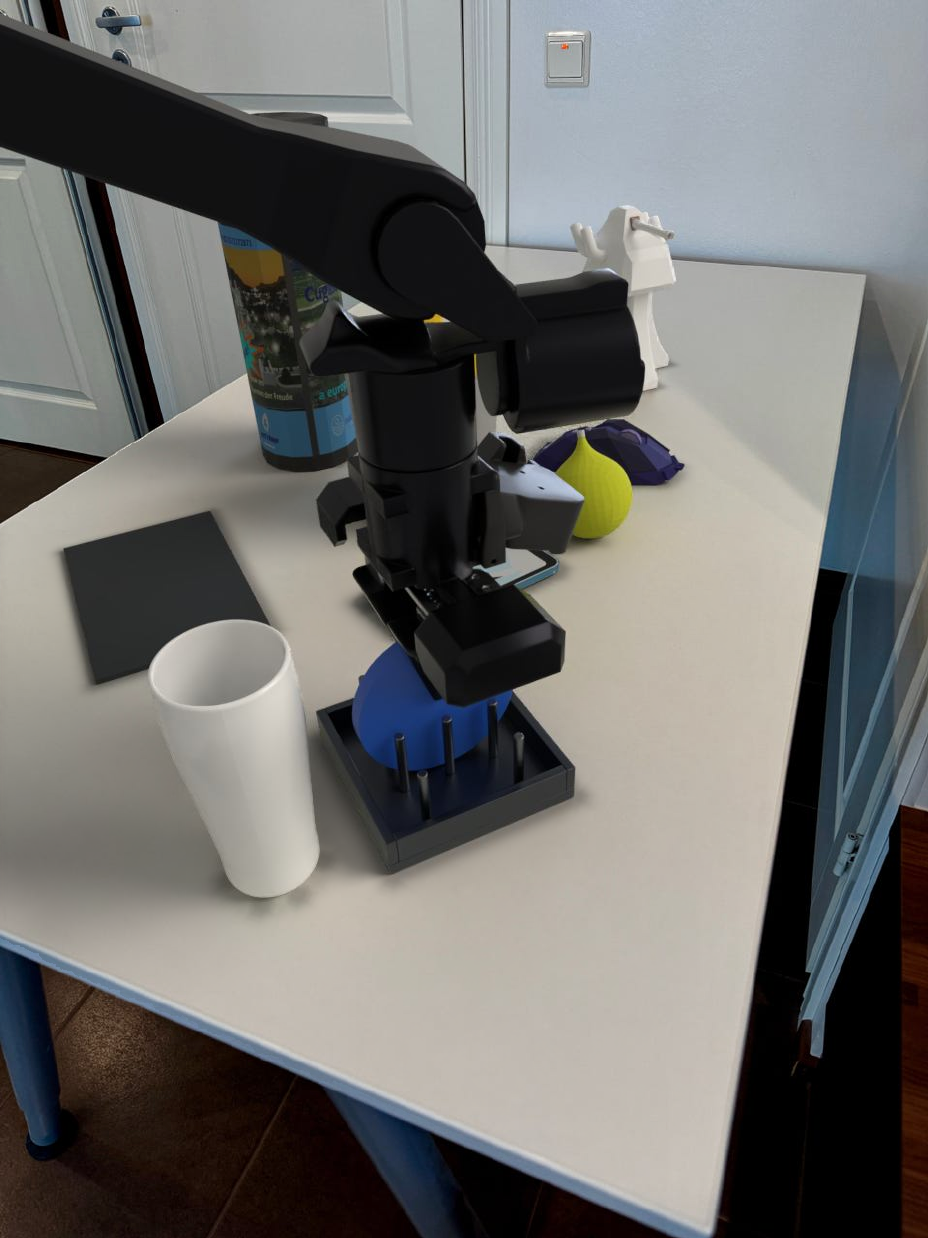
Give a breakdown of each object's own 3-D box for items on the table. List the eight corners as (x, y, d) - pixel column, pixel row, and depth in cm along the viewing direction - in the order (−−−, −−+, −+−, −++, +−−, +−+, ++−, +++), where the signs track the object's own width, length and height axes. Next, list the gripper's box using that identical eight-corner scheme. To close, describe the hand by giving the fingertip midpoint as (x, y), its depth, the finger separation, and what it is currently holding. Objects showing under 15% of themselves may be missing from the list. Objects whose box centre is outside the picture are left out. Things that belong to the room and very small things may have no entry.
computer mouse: (556, 430, 93) (557, 394, 90) (696, 454, 87) (701, 416, 85) (522, 469, 86) (522, 431, 84) (671, 497, 81) (675, 458, 78)
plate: (516, 734, 56) (512, 610, 50) (371, 794, 53) (347, 669, 47) (507, 723, 57) (502, 599, 51) (363, 781, 54) (339, 656, 47)
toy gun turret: (610, 403, 98) (621, 231, 87) (552, 364, 107) (556, 205, 97) (699, 382, 101) (720, 215, 90) (635, 346, 111) (648, 191, 100)
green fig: (565, 505, 80) (569, 402, 74) (640, 521, 78) (650, 415, 72) (534, 543, 75) (535, 436, 69) (612, 562, 73) (620, 452, 67)
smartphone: (565, 562, 71) (413, 633, 64) (564, 572, 72) (414, 643, 65) (507, 526, 76) (360, 588, 69) (507, 536, 77) (361, 598, 70)
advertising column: (256, 433, 95) (193, 117, 77) (359, 420, 97) (322, 108, 78) (258, 481, 86) (188, 137, 68) (371, 466, 88) (333, 126, 70)
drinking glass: (279, 935, 46) (220, 731, 37) (188, 880, 49) (112, 679, 40) (357, 845, 51) (322, 643, 42) (269, 799, 54) (218, 602, 45)
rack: (574, 797, 53) (577, 734, 50) (390, 875, 49) (381, 812, 46) (483, 681, 62) (481, 621, 58) (320, 739, 58) (309, 678, 54)
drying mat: (96, 684, 63) (94, 680, 63) (64, 551, 77) (63, 548, 77) (271, 630, 67) (271, 626, 67) (210, 514, 82) (210, 510, 81)
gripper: (676, 485, 38) (644, 743, 47) (478, 351, 51) (485, 572, 61) (442, 556, 34) (459, 820, 43) (295, 391, 47) (333, 620, 57)
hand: (436, 689), depth 51 cm, fingers closed on plate, 1 cm apart
